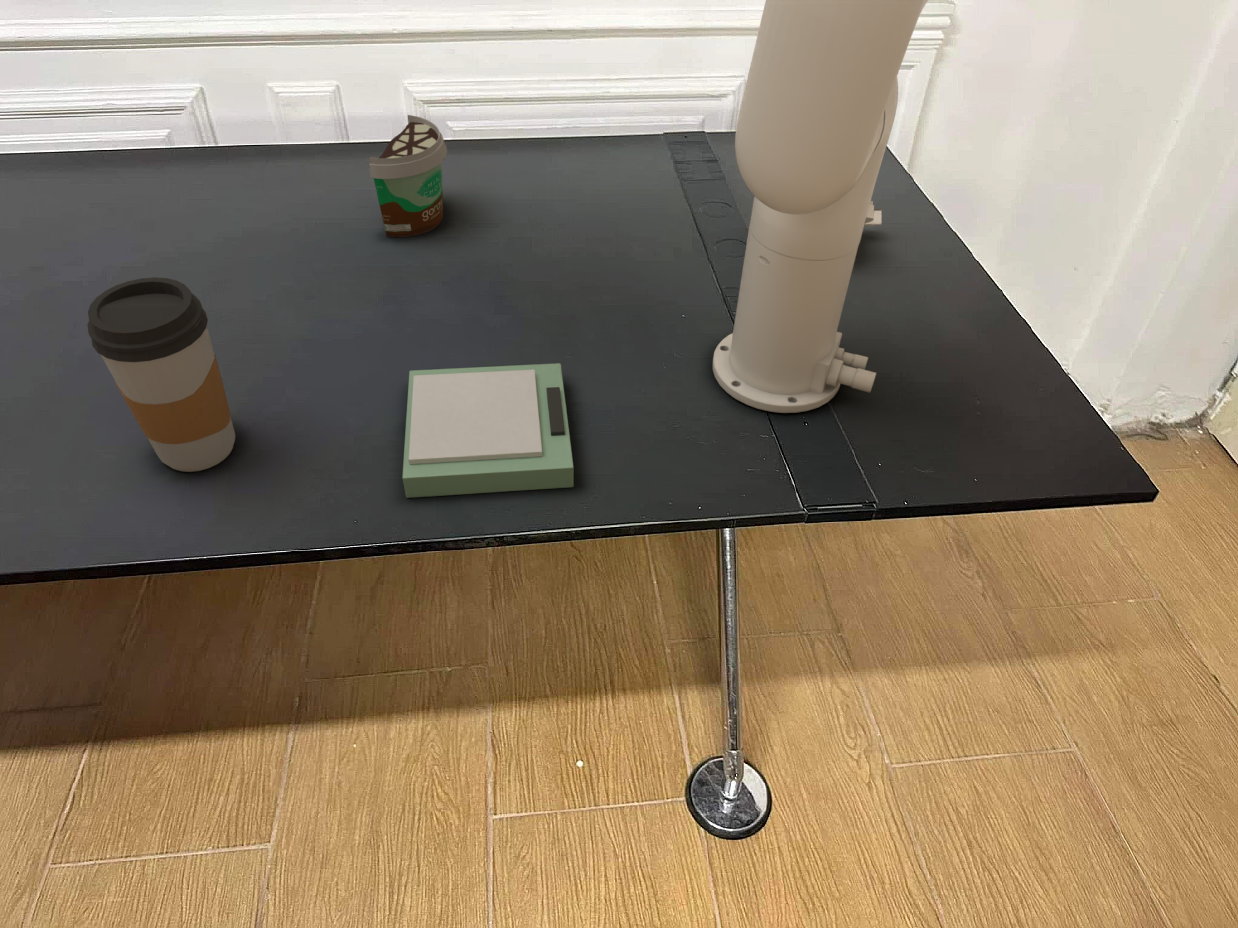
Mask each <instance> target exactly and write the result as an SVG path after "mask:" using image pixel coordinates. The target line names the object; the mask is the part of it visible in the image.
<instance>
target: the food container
mask: <svg viewBox="0 0 1238 928" xmlns="http://www.w3.org/2000/svg"><path fill="white" fill-rule="evenodd" d="M439 129H440V128H439V127H438V126H437V125H436V124H435V123H433V122H432V121H431V120H428V119H426V118H424V117H421V116H417V115H412V114H407V124H406V126H405V127H404V128H403V129H402V131H401V132H400V133H399V134H397V135H396V136H394V137H393V138H392V139H391V140H390V142H389V143H388V144H387V146H386V148H385V149H384V151H383V152H382V154H381V155H379V157H369V158H368V159H369V164H368V165H369V177H370V178H371V179H373V182H374V187H375V191H376V192H375V193H376V197H377V200H378V204H379V205H378V206H379V209H380V215H381V219H382V224H383V227H384V232H385V236H386V237H390V238H406V237H407V238H408V237H413V236H418V235H423V234H426V233H427V232H431V231H433V230H435V228H437V227H438V226H439V225H440V224H441V223H442V221H443V219H444V197H443V196H444V195H443V165H442V164H443V162H444V161H445V159H446V157H447V154H448V149H447V145H446V142H445V140H444V139H445V138H444V137H443V134H442V132H441V131H440V130H439Z"/></svg>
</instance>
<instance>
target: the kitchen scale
mask: <svg viewBox="0 0 1238 928" xmlns="http://www.w3.org/2000/svg"><path fill="white" fill-rule="evenodd" d="M563 378H564V377H563V372H562V364H561V363H559V362H558V363H557V362H556V363H538V364H518V365H517V364H516V365H500V366H499V365H498V366H496V365H495V366H477V367H476V366H475V367H459V368H458V367H457V368H437V369H435V368H434V369H417V370H416V369H415V370H414V369H413V370H409V372H408V387H407V401H406V418H405V432H404V433H405V434H404V448H403V465H402V477H401V478H402V483H403V489H404V495H405V498H406V499H409V498H411V499H412V498H424V497H425V498H426V497H439V496H442V497H443V496H455V495H472V494H473V495H475V494H488V493H489V494H490V493H502V492H503V493H505V492H519V491H535V490H549V489H551V490H552V489H564V488H566V489H567V488H574V486H575V485H574V484H575V483H574V477H575V476H574V475H575V474H574V472H575V471H574V461H573V452H572V444H571V435H570V427H569V419H568V413H567V412H568V411H567V404H566V396H565V395H566V394H565V388H564V387H565V386H564V379H563Z"/></svg>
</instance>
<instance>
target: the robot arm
mask: <svg viewBox="0 0 1238 928" xmlns="http://www.w3.org/2000/svg"><path fill="white" fill-rule="evenodd" d="M928 1H929V0H765V2H764V6H763V11H762V14H761V18H760V19H761V20H760V23H759V26H758V32H757V35H756V40H755V44H754V49H753V53H752V57H751V61H750V65H749V68H748V69H749V70H748V73H747V79H746V83H745V86H744V90H743V95H742V100H741V104H740V107H739V112H738V118H737V122H736V129H735V136H734V138H735V139H734V151H735V152H734V153H735V160H736V164H737V168H738V171H739V173H740V175H741V178H742V180H743V182H744V184H745V186H746V187H747V188H748V190H749V192H750V193H751V194H752V195H753V202H752V209H751V214H750V221H749V226H748V231H747V239H746V245H745V252H744V258H743V264H742V272H741V278H740V284H739V291H738V297H737V304H736V311H735V317H734V324H733V330H732V333H729V334H728V335H727V336H726V337H724V338H723V339H722V340H721V341H720V342H719V343H718V344H717V346H716V348H715V350H714V351H713V357H712V372H713V375H714V378H715V380H716V381H717V383H718V385H719V386H720V388H722V390H724V391H725V392H726V393H727V394H728V395H729V396H730V397H732V398H734V399H735V400H736V401H738V402H741V403H743V404H744V405H746V406H749V407H752V408H755V409H757V410H761V411H766V412H771V413H778V414H779V413H780V414H796V413H801V412H802V413H803V412H808V411H811V410H815V409H817V408H820V407H822V406H823V405H825V404H827V403H829V402H830V401H831V400H832V399H833V398H834V397H835V396H836V395H837V393H838V392H839V390H840V387H841V385H844V386H848V387H851V389H855V390H859V391H861V392H866V393H869V394H870V393H871V391H872V388H873V386H874V382H875V380H876V377H877V372H874V371H871V370H867V369H866V367H867V364H868V361H869V356H865V355H860V354H857V353H851V352H847V351H845V348H843V347H840V344H841V340H842V337H843V333H842V332H840V331H838V328H839V325H840V321H841V317H842V313H843V309H844V305H845V301H846V296H847V293H848V289H849V284H850V280H851V277H852V274H853V273H852V272H853V269H854V265H855V261H856V256H857V253H858V249H859V245H860V243H861V240H862V235H863V233H864V227H865V226H864V224H865V220H866V216H867V213H868V209H869V205H870V201H872V197H873V195H874V190H875V186H876V183H877V180H878V176H879V172H880V170H881V166H882V162H883V159H884V155H885V153H886V150H887V146H888V143H889V139H890V136H891V133H892V129H893V126H894V122H895V117H896V113H897V108H898V102H899V81H898V74H899V72H900V69H901V66H902V64H903V61H904V58H905V55H906V52H907V50H908V47H909V44H910V42H911V39H912V36H913V34H914V31H915V28H916V26H917V23H918V21H919V17H920V15H921V14H922V11H923V10H924V8H925V6H926V5H927V3H928Z"/></svg>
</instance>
